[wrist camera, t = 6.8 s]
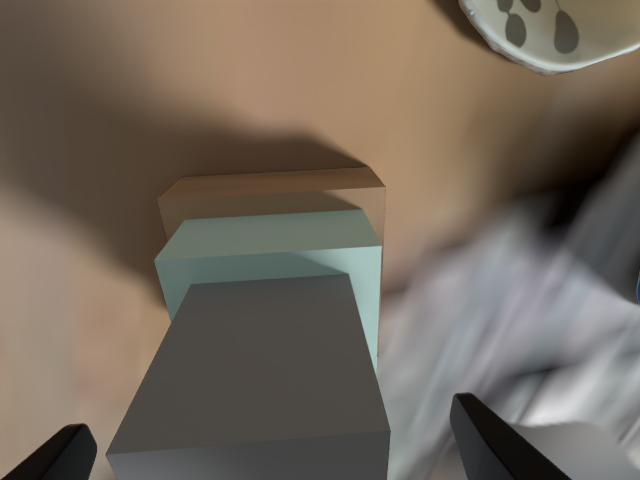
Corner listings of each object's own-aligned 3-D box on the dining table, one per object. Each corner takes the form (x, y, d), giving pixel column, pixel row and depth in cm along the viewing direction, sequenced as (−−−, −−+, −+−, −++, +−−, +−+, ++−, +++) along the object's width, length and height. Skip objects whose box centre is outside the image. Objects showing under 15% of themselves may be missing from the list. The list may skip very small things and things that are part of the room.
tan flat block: (366, 315, 18) (378, 357, 16) (214, 326, 18) (200, 370, 15) (369, 166, 15) (385, 186, 12) (182, 176, 15) (156, 200, 12)
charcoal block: (348, 386, 12) (379, 567, 8) (217, 396, 12) (169, 589, 8) (348, 273, 10) (390, 430, 6) (190, 284, 10) (105, 454, 6)
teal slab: (360, 345, 15) (374, 402, 13) (215, 355, 15) (197, 416, 12) (363, 209, 13) (381, 245, 10) (185, 219, 12) (153, 260, 10)
